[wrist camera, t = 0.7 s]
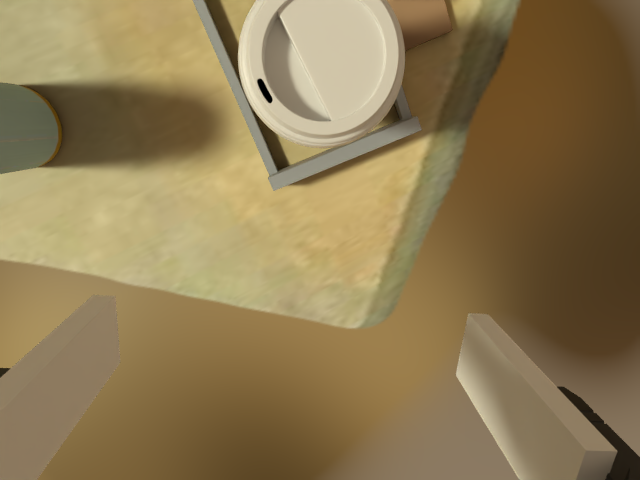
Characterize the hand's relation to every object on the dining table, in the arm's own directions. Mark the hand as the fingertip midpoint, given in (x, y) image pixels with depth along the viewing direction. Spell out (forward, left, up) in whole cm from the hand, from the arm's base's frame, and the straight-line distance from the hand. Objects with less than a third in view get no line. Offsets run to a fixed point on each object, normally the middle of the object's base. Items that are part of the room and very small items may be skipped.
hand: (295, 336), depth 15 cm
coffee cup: (-10, +6, -25) cm, 27 cm away
